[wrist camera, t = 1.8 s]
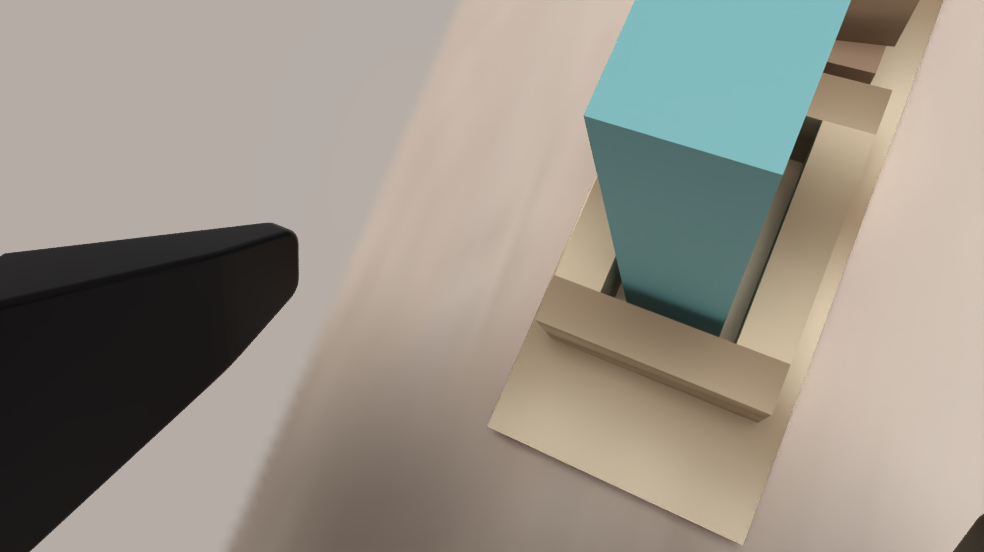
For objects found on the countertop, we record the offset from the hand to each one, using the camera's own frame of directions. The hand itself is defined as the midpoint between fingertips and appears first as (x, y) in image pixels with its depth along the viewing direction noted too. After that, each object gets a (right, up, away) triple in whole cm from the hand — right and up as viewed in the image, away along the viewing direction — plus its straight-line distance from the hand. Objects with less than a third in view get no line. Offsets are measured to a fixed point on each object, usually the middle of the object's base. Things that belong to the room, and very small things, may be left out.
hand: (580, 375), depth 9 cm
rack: (+6, +4, +12) cm, 14 cm away
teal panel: (+5, +2, +10) cm, 12 cm away
